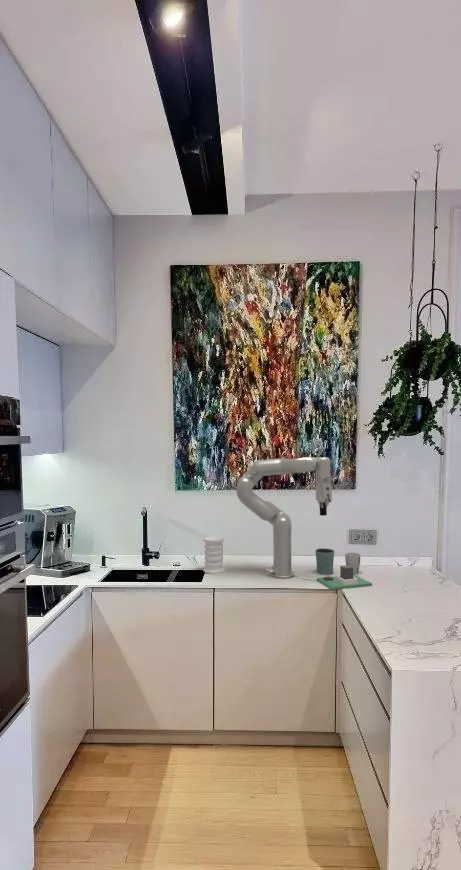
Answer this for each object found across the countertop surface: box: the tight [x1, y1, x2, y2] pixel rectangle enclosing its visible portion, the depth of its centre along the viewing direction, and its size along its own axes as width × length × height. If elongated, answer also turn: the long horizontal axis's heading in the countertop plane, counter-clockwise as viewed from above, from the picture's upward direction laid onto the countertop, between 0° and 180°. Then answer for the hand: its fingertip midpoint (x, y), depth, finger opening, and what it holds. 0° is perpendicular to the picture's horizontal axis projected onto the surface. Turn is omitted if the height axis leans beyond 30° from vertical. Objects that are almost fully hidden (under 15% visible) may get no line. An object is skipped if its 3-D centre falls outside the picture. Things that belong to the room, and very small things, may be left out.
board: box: [316, 574, 373, 591], centre depth 239 cm, size 22×16×4 cm
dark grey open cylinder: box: [315, 547, 335, 576], centre depth 258 cm, size 10×10×12 cm
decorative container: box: [202, 535, 226, 575], centre depth 261 cm, size 12×12×18 cm
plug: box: [339, 565, 354, 580], centre depth 236 cm, size 5×4×7 cm
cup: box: [344, 552, 361, 575], centre depth 257 cm, size 8×8×10 cm
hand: (323, 515), depth 251 cm, fingers closed
